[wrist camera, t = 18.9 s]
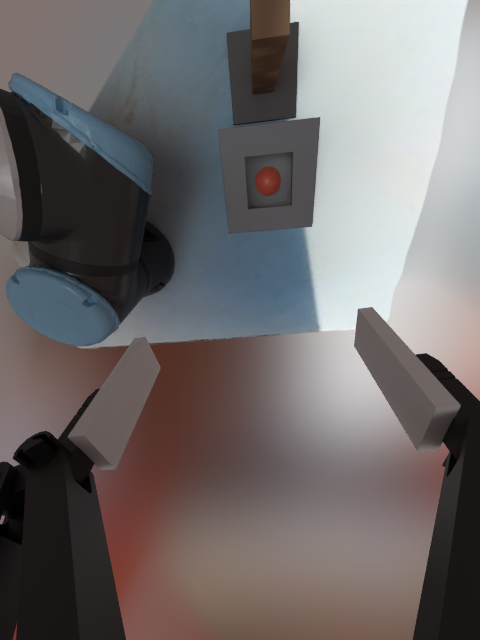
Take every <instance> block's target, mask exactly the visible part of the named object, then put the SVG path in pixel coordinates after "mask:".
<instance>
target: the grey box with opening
mask: <svg viewBox="0 0 480 640" xmlns="http://www.w3.org/2000/svg"><path fill="white" fill-rule="evenodd" d="M319 126H320V117H318V118H309V119H301V120H293V121H285V122H276V123H268V124H260V125H252V126H243V127H235V128H227V129H219V130H218V134H219V144H220V153H221V162H222V171H223V181H224V190H225V199H226V208H227V218H228V227H229V233H240V232H252V231H264V230H276V229H288V228H300V227H312V223H313V209H314V195H315V181H316V168H317V154H318V140H319ZM267 166H270V167H274V168H275V169H276V170H277V171H278V172H279V174H280V177H281V183H280V187H279V189H278V190H277V192H276V193H274V194H273V195H270V196H264V195H262V194H260V193H259V192H258V190H257V188H256V185H255V177H256V174H257V173H258V171H259V170H260V169H262V168H264V167H267Z"/></svg>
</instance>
